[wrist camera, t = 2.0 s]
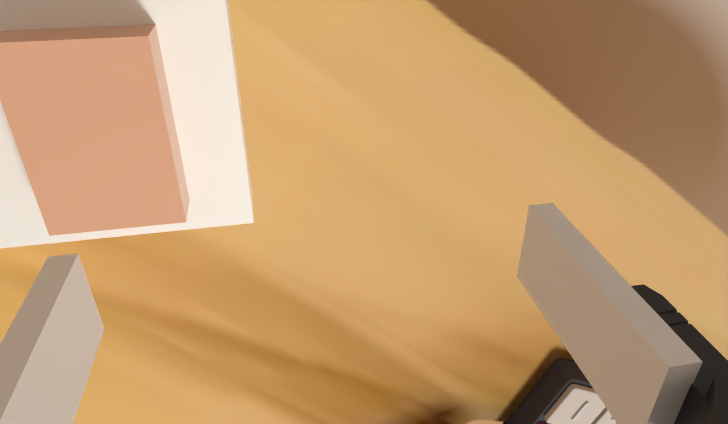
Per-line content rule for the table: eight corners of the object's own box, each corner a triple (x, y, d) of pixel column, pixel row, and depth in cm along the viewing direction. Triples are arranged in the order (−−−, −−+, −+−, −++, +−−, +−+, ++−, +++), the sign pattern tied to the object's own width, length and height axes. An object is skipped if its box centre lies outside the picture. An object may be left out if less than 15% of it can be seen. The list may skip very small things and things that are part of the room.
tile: (189, 200, 32) (186, 222, 30) (62, 211, 31) (49, 235, 29) (155, 24, 27) (148, 36, 25) (1, 30, 26) (-21, 43, 23)
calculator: (574, 384, 48) (694, 415, 52) (552, 349, 51) (666, 381, 56) (508, 463, 52) (625, 485, 57) (493, 426, 56) (603, 449, 60)
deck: (253, 199, 36) (253, 222, 33) (-83, 230, 33) (-110, 259, 30) (224, -30, 29) (222, -22, 26) (-209, -19, 26) (-259, -8, 23)
